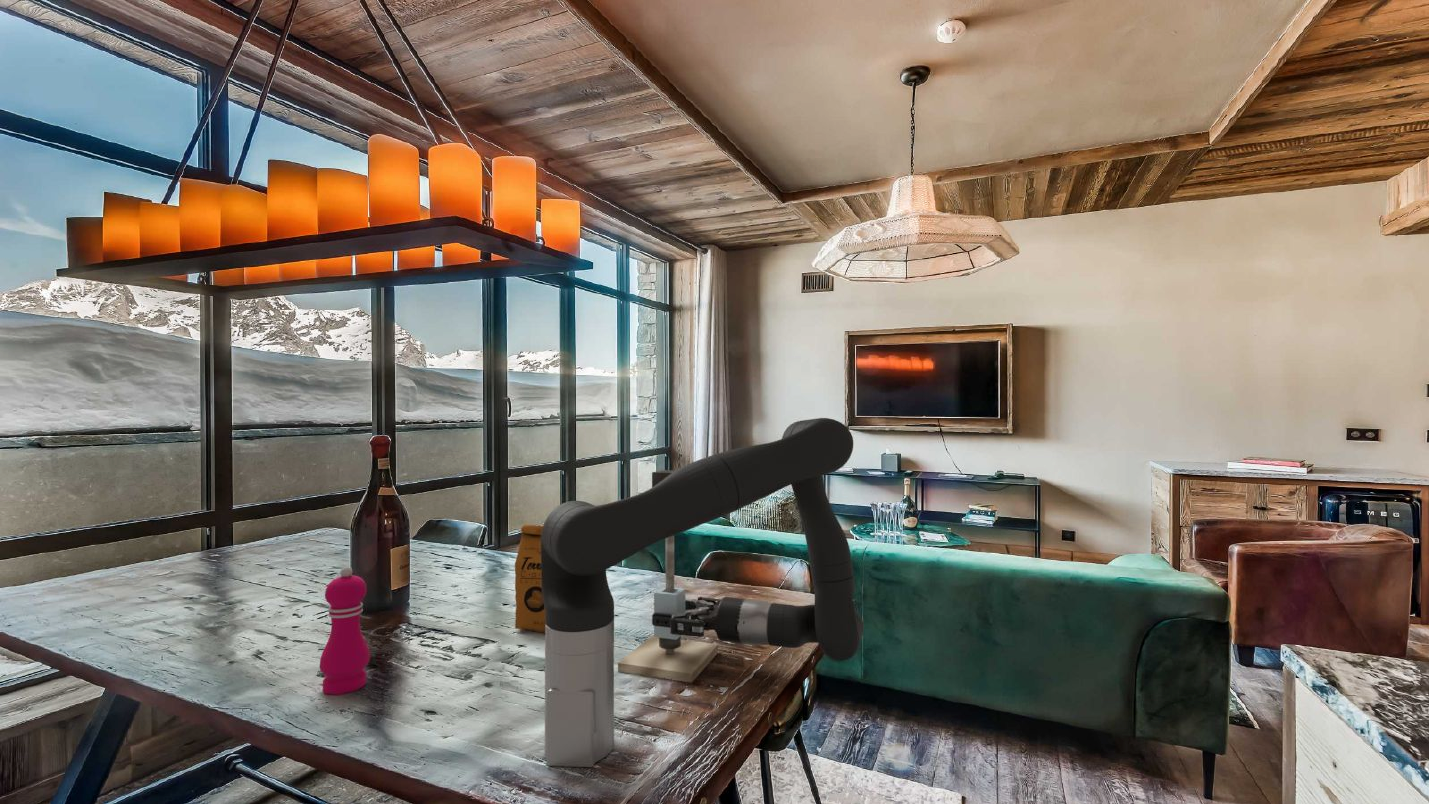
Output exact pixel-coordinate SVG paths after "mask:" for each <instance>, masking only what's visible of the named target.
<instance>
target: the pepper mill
mask: <svg viewBox="0 0 1429 804" xmlns="http://www.w3.org/2000/svg"><path fill="white" fill-rule="evenodd" d="M339 573H340V576H337V578H334V579H333V580H332V581H330V582H329V583H328V584H327V586H326V588H325V592H324V599H325V601H326V603H327V604H329V605H330V606H328V614H327V616H328V618H330V619H331V620H330V621H331V630H330V633H329V636H328V637H329V638H328V640H327V642H326V644H325V647H324V648H323V650H322V653H321V656H320V659H319V670H320V672H321V673H323V675H325V677H323V680H322V692H323V693H324V694H327V695H344V694H348V693H349V694H350V693H351V692H354V691H355V692H356V691H357V690H359V689H361V688H363V687H364V686H365V685H366V684H367V671H366V670H365V668H366V667H367V665H368V663H369V662H370V660H371V656H370V649H369V645H368V643H367V641H366V639H365V637H364V636H363V633H362V630H361V625H360V619H361V618H360V617H361V614H362V613H363V611H364V609H363V605H364V604H363V603H364V602H362V601H363V600H364V598H365V596H366V595H367V584H366V582H365V580H364V579H363V578H362V577H360V576H358V575H353V569H352V567H351V566H344V567H343V568H341V570H340V571H339Z"/></svg>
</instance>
